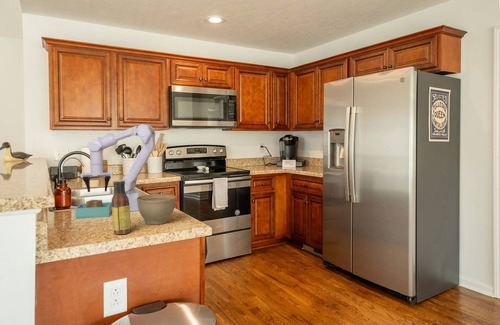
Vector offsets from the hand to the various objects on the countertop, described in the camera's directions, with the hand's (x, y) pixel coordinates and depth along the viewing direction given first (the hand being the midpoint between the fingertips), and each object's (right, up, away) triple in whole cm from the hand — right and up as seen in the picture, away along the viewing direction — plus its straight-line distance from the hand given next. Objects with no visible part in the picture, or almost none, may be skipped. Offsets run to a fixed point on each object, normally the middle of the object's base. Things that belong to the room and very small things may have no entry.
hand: (97, 191), depth 170 cm
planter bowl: (+36, -11, -24) cm, 45 cm away
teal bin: (+3, -10, -9) cm, 14 cm away
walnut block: (+3, -10, -10) cm, 14 cm away
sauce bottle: (+27, -12, -41) cm, 51 cm away
